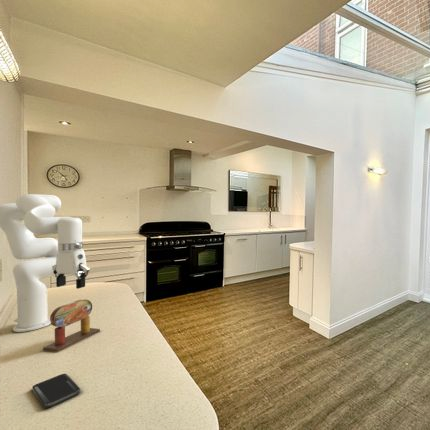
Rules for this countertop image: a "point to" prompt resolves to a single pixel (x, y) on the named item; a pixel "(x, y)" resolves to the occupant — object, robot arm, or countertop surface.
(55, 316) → the tin
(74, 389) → the phone
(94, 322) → the countertop surface
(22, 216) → the robot arm
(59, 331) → the rod stand
